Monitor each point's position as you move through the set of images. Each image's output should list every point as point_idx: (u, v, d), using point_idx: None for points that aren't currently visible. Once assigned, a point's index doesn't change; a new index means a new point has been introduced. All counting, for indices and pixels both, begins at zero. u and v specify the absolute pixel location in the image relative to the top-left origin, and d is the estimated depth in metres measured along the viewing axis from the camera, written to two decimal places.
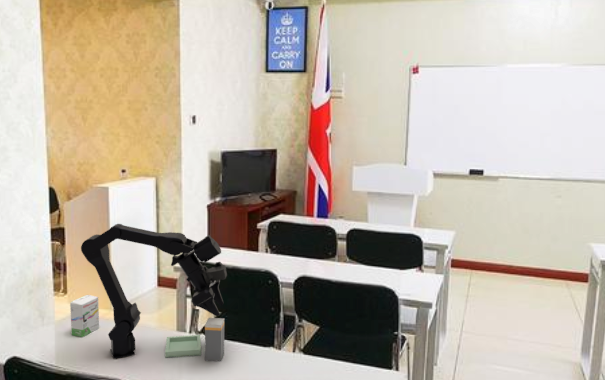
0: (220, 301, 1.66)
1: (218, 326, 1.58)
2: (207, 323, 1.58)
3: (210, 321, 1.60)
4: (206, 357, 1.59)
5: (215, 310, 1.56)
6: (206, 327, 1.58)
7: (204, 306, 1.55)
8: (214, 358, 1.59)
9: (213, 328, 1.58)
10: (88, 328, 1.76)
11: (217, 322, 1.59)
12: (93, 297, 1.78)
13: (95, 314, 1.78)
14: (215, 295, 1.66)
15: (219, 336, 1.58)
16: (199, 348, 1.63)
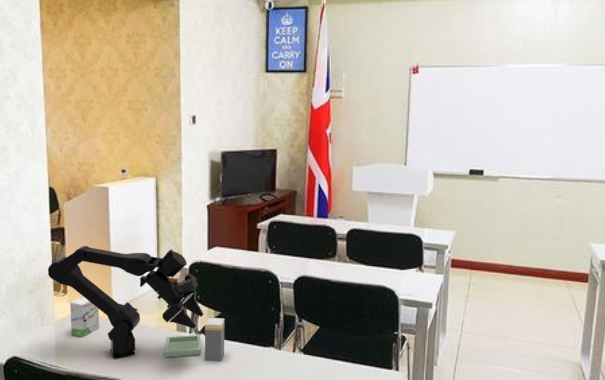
0: (199, 312, 1.65)
1: (218, 326, 1.58)
2: (207, 323, 1.58)
3: (210, 321, 1.60)
4: (206, 357, 1.59)
5: (190, 322, 1.55)
6: (206, 327, 1.58)
7: (178, 320, 1.54)
8: (214, 358, 1.59)
9: (213, 328, 1.58)
10: (88, 328, 1.76)
11: (217, 322, 1.59)
12: None
13: (95, 314, 1.78)
14: (193, 307, 1.65)
15: (219, 336, 1.58)
16: (199, 348, 1.63)
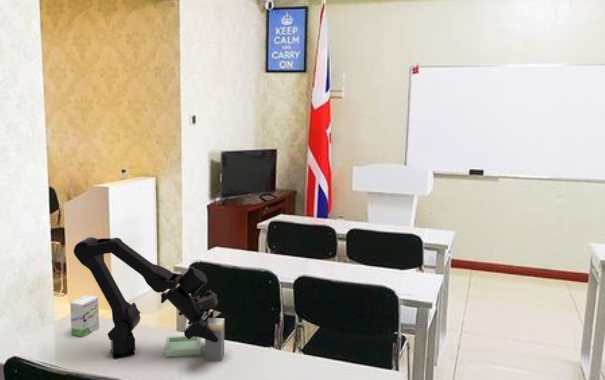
0: None
1: (218, 326, 1.58)
2: None
3: (210, 321, 1.60)
4: (206, 357, 1.59)
5: (212, 337, 1.57)
6: None
7: (200, 335, 1.56)
8: (214, 358, 1.59)
9: (213, 328, 1.58)
10: (88, 328, 1.76)
11: (217, 322, 1.59)
12: (93, 297, 1.78)
13: (95, 314, 1.78)
14: None
15: (219, 336, 1.58)
16: (199, 348, 1.63)
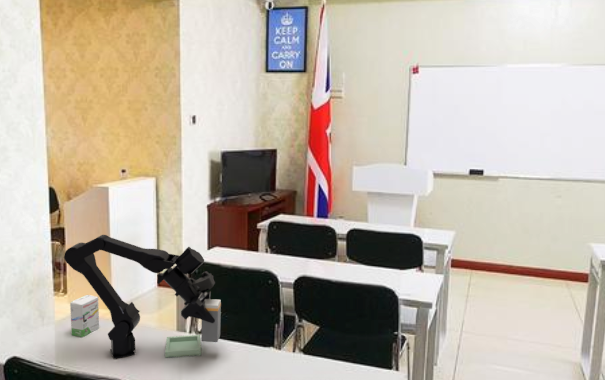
0: None
1: (215, 307, 1.58)
2: None
3: (207, 302, 1.60)
4: (202, 338, 1.59)
5: (209, 317, 1.57)
6: None
7: (197, 315, 1.56)
8: (210, 339, 1.59)
9: (210, 309, 1.58)
10: (88, 328, 1.76)
11: (214, 303, 1.59)
12: (93, 297, 1.78)
13: (95, 314, 1.78)
14: None
15: (216, 317, 1.58)
16: (199, 348, 1.63)
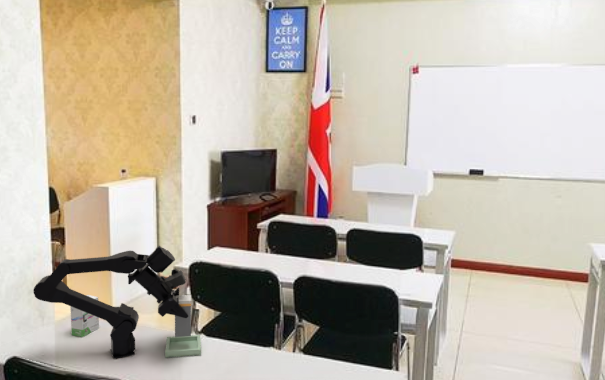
0: None
1: (188, 302, 1.62)
2: None
3: None
4: (176, 333, 1.63)
5: (183, 313, 1.62)
6: None
7: (171, 312, 1.60)
8: (184, 333, 1.64)
9: (183, 304, 1.62)
10: (88, 328, 1.76)
11: (186, 298, 1.64)
12: (93, 297, 1.78)
13: None
14: None
15: (189, 311, 1.63)
16: (199, 348, 1.63)
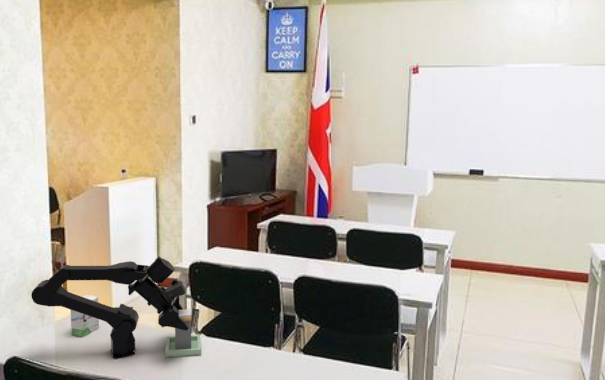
0: None
1: (188, 316, 1.63)
2: None
3: None
4: (176, 348, 1.64)
5: (183, 325, 1.60)
6: None
7: (171, 324, 1.59)
8: (184, 348, 1.64)
9: (183, 319, 1.63)
10: (88, 328, 1.76)
11: (186, 313, 1.65)
12: (93, 297, 1.78)
13: None
14: None
15: (189, 326, 1.64)
16: (199, 348, 1.63)
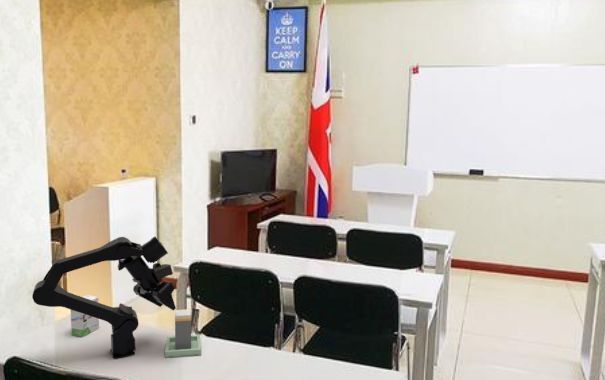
0: (159, 303, 1.70)
1: (188, 316, 1.63)
2: (176, 315, 1.63)
3: (178, 313, 1.65)
4: (176, 348, 1.64)
5: (172, 304, 1.62)
6: (176, 319, 1.62)
7: (164, 301, 1.60)
8: (184, 348, 1.64)
9: (183, 319, 1.63)
10: (88, 328, 1.76)
11: (186, 313, 1.65)
12: (93, 297, 1.78)
13: None
14: (154, 298, 1.69)
15: (189, 326, 1.64)
16: (199, 348, 1.63)
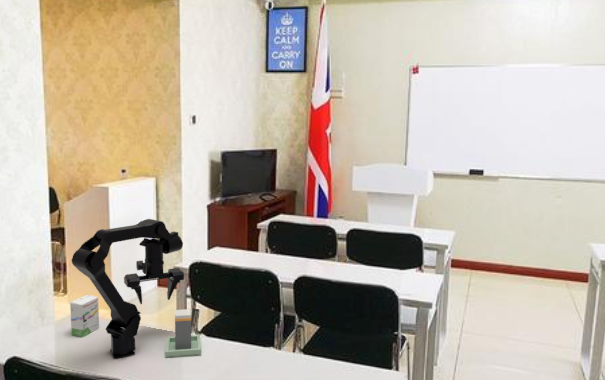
0: None
1: (188, 316, 1.63)
2: (176, 315, 1.63)
3: (178, 313, 1.65)
4: (176, 348, 1.64)
5: None
6: (176, 319, 1.62)
7: None
8: (184, 348, 1.64)
9: (183, 319, 1.63)
10: (88, 328, 1.76)
11: (186, 313, 1.65)
12: (93, 297, 1.78)
13: (95, 314, 1.78)
14: None
15: (189, 326, 1.64)
16: (199, 348, 1.63)
